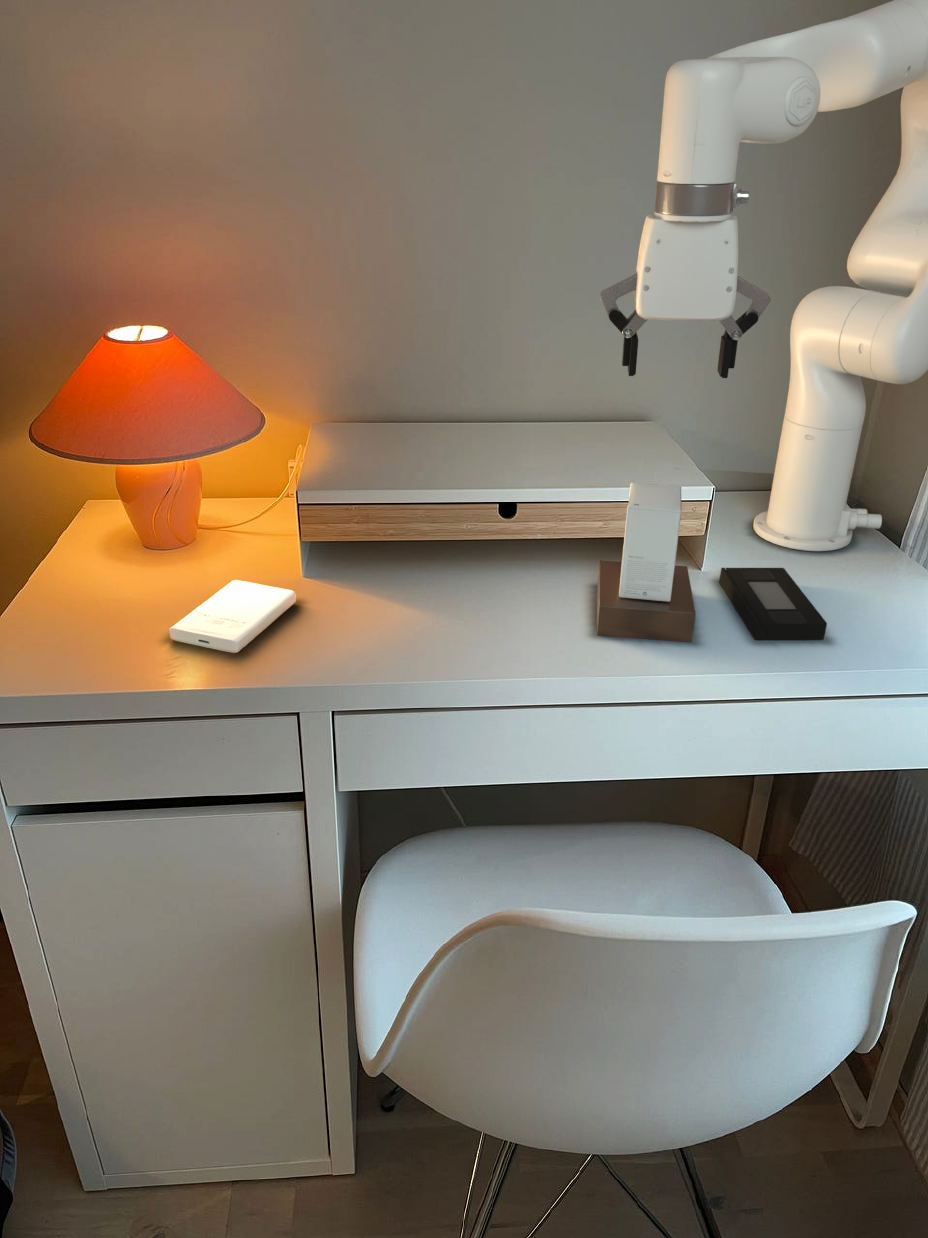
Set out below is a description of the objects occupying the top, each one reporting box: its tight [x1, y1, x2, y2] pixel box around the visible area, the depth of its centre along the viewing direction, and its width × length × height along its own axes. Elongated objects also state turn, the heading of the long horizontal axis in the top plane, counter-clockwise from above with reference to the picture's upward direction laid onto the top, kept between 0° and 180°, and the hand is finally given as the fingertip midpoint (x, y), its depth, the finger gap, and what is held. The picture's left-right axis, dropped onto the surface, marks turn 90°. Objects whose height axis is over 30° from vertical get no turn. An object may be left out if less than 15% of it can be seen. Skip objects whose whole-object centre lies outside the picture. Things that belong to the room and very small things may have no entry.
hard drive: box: [168, 579, 297, 654], centre depth 107 cm, size 2×8×12 cm
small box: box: [619, 482, 682, 602], centre depth 107 cm, size 8×6×10 cm
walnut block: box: [596, 559, 697, 643], centre depth 110 cm, size 10×12×4 cm
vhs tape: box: [718, 567, 828, 641], centre depth 112 cm, size 8×14×2 cm, turn 2°
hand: (676, 373), depth 106 cm, fingers open, 9 cm apart
